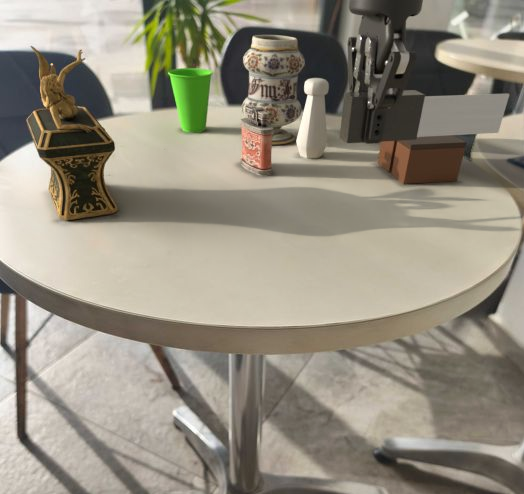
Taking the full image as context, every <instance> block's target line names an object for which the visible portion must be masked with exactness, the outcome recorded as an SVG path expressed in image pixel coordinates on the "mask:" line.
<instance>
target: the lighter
mask: <svg viewBox="0 0 524 494" xmlns="http://www.w3.org/2000/svg"><path fill="white" fill-rule="evenodd" d="M245 113H247V114H249V115H250V116H249V118H246V117H244V118H240V126H241V158H240V165H241V166H242V167H243V168H244V169H246V170H247V171H248V172H251V173H253V174H255V175H258V176H265V177H266V176H267V177H268V176H271V175H272V174H273V168H272V147H273V145H272V133H273V127H272V126H271V125H269V124H267V120H268V113H267V112H265V111H264V109H263V107H257V108H256V107H255V106H253V105H250V104H247V105H246V106H245Z"/></svg>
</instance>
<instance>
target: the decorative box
mask: <svg viewBox="0 0 524 494" xmlns="http://www.w3.org/2000/svg"><path fill="white" fill-rule="evenodd" d="M30 48H31V49H32V51H33V52H34V53H35V54H36V56H37V59H38V63H39V69H38V74H39V81H40V84H39V85H40V86H39V91H40V97H41V102H42V104H43V106H44V107H45V108H38V109H35V110H33V111H32V112H31V114H30V115H29V116H28V117H27V118H26V119H25V121H26V124H27V128H28V130H29V133H30V136H31V138H32V142H33V144H34V147H35V149H36V152H37V153H38V157H39V158H40V159H41V161H43V162H44V163H45V164H47V166H49V167H50V178H49V183H48V193H49V195H50V198H51V200H52V203H53V206H54V209H55V211H56V214H57V216H58V219H59V220H64V221H72V220H79V219H86V218H91V217H92V218H93V217H99V216H106V215H112V214H114V213H115V214H116V212H118V211H119V208H118V205H116V203H115V201H114V199H113V197H112V195H111V194H110V192H109V189H108V187H107V185H106V181H105V167H106V163H107V162H108V160H109V159H110V157H112V155H113V153H114V152H115V150H116V145H115V144H116V143H115V141H114V139H113V138H112V137H111V136H110V134H109V132H107V131H106V129H105V127H103V126H102V124H101V122H99V121H98V120H97V118H96V117H95V116H94V114H93V113H92V112H90V110H88V109H87V107H85V106H79V105H77V106H76V99H75V97H74V96H73V95H71V94H68V93H65V88H64V82H65V79H66V75H68V74H69V73H70V72H71V71H72V70H73V69H74V68H75V67H76V66H78V65H80V64H81V63H82V62H84V60H85V61H86V57H84V58H82V54H83V51H82V50H83V49H79V51H78V52H77V57H76V61H73V62H72V63H70V64H68V65H66V66H65V67H63V68H62V69H61V71H60V72H59V75H57V71H56V67H55V65H54V64H53V63H50V64H49V63H48V61H47V59H46V58H45V57H44V55H43V54H42V53H41V52H40V51H39V50H37V48H35V47H34V46H32V45H30Z"/></svg>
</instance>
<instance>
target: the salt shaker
mask: <svg viewBox="0 0 524 494" xmlns="http://www.w3.org/2000/svg"><path fill="white" fill-rule="evenodd" d="M329 85H330V84H329V82H328V80H327V79H324V78H321V77H311V78H308V79H306V80H305V81H304V86H303V91H304V94H306V95H307V96H306V100H305V105H304V107H303V108H304V109H303V113H302V117H301V121H300V125H299V127H298V129H299V130H298V132H297V136H296V140H295V141H296V147H297V150H298V153H299V156H300V157H301V158H302V157H303V158H305V159H318V158H321V157H322V156H323V154H324V152H325V151H326V148H327V146H328V135H327V134H328V133H327V132H328V131H327V115H326V100H325V99H326V98H325V96H326V95H327V94H328V93H329V89H330V86H329Z"/></svg>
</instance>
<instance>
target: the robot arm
mask: <svg viewBox="0 0 524 494" xmlns="http://www.w3.org/2000/svg"><path fill="white" fill-rule="evenodd" d="M348 1H349V2H348V10H349V12H350V13H351V14H353V15H357V16H361V20H360V24H359V27H358V35H357V36H349V37H348V39H347V42H346V43H347V66H348V67H347V68H348V90H349V91H348V92H368V98H367V108H368V109H367V110H366V117H365V124H364V132H363V141H364V142H365V144H367V145H372V144H381V140H382V136H383V130H384V123H385V117H386V111H387V109H389V108H390V107H392V106H397V105H398V104H399V101H400V99H401V96H402V94H403V91H404V90H405V88H406V86H407V84H408V81H409V79H410V76H411V74H412V72H413V69H414V66H415V64H416V62H417V52H416V51H415V50H414V51H411V50H410V51H408V50H407V49H406V46H405V44H406V39H407V21H408V18H409V17H416V16H418V15H419V14H420V13H421V11H422V7H423V2H424V0H348ZM376 91H377V92H376ZM392 92H393V94H392Z"/></svg>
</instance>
